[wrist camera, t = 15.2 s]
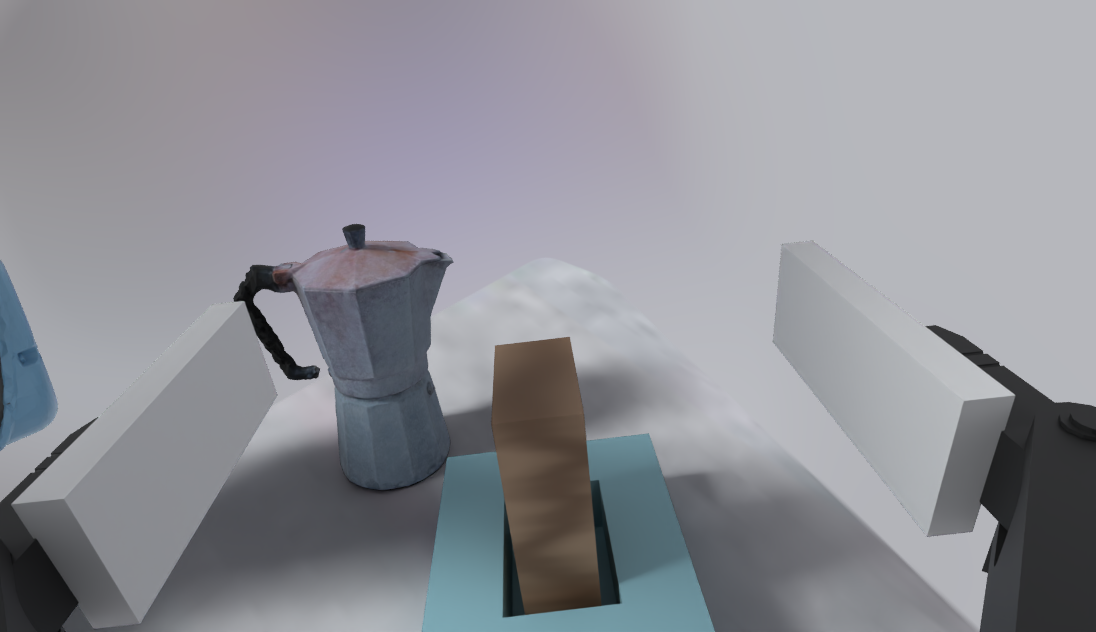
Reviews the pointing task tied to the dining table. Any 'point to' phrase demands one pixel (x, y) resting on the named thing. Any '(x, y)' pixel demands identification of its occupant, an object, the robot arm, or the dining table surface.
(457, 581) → the slotted base
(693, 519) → the dining table surface
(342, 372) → the moka pot
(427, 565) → the dining table surface
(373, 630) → the dining table surface
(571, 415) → the walnut board
